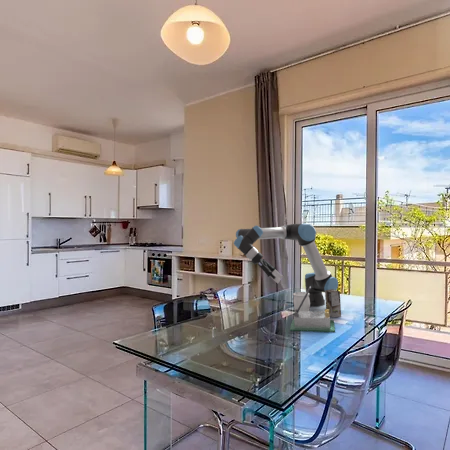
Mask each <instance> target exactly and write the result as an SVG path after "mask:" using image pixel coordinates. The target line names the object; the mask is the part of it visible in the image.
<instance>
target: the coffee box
mask: <svg viewBox="0 0 450 450" xmlns="http://www.w3.org/2000/svg"><path fill="white" fill-rule="evenodd" d="M324 300H325V309H329V314H330V318H338V317H340V318H341V317H342V309H341V308H342V307H341V292H340V290H337V289H336V290H334V289H330V290H325V292H324Z"/></svg>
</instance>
